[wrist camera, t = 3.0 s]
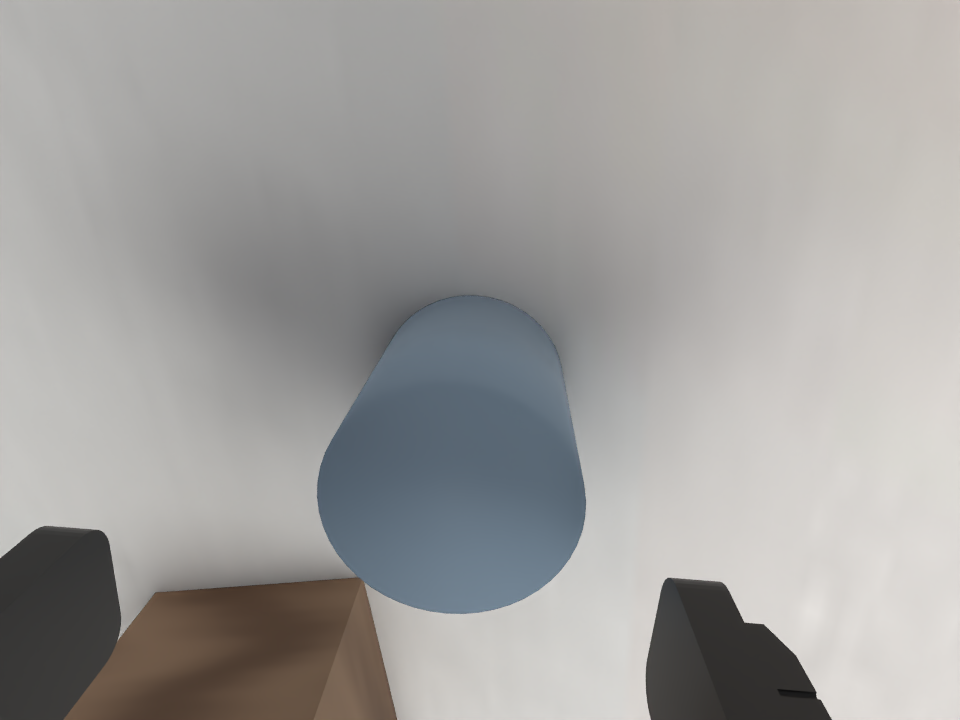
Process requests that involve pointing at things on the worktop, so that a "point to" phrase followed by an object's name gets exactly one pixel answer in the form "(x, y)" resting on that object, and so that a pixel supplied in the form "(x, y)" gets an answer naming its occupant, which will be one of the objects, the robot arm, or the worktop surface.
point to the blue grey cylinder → (457, 463)
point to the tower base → (246, 657)
